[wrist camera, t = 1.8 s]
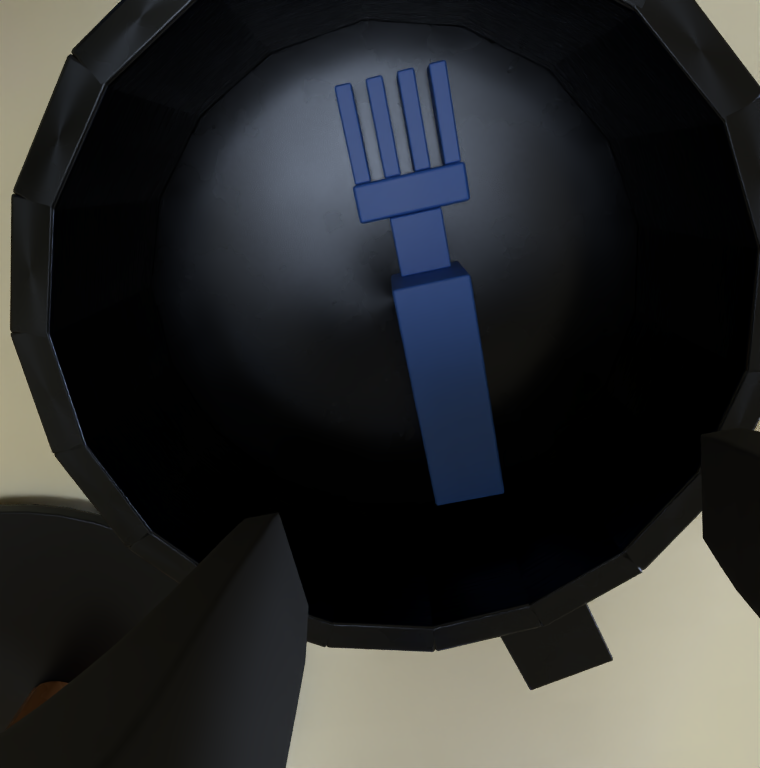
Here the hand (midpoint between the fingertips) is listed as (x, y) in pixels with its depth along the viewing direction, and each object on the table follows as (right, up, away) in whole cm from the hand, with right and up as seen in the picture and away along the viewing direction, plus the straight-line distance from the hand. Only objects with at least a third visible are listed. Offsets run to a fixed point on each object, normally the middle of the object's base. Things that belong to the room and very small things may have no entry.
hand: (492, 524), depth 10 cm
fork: (-1, +5, +7) cm, 9 cm away
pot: (-2, +5, +7) cm, 9 cm away
